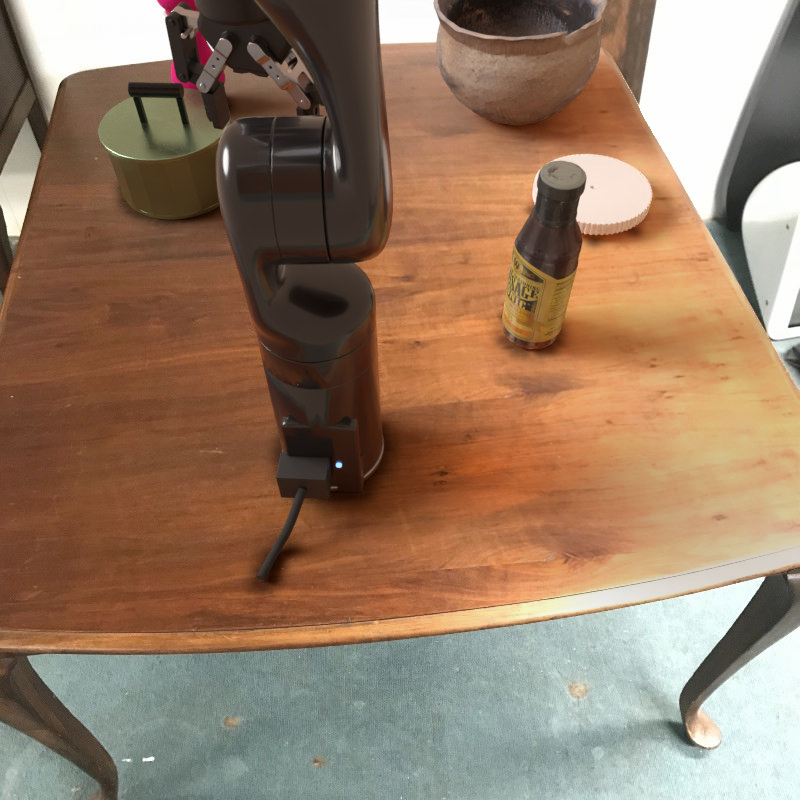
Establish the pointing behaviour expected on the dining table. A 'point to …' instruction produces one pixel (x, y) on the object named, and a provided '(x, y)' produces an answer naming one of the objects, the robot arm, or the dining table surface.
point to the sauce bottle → (545, 259)
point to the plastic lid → (608, 194)
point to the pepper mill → (169, 3)
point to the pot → (170, 186)
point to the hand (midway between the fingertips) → (265, 132)
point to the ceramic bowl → (518, 54)
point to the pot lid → (158, 124)
